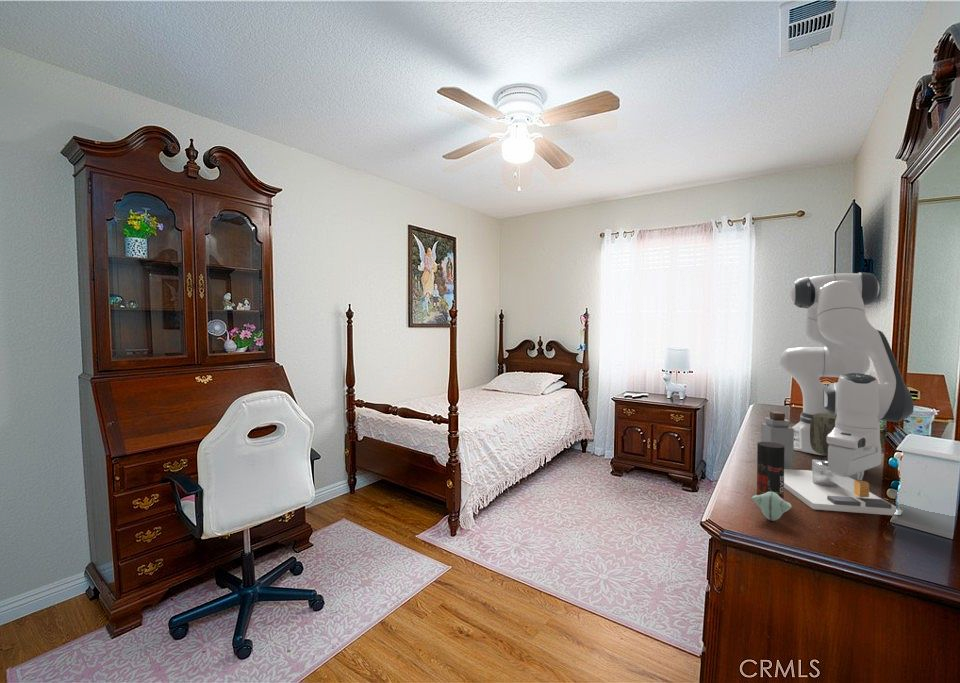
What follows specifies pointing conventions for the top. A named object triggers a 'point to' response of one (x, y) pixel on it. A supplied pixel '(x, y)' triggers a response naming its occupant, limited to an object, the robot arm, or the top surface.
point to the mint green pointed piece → (771, 505)
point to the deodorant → (770, 468)
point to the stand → (832, 495)
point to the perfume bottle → (779, 435)
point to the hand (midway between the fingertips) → (855, 486)
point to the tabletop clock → (821, 432)
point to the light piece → (837, 479)
